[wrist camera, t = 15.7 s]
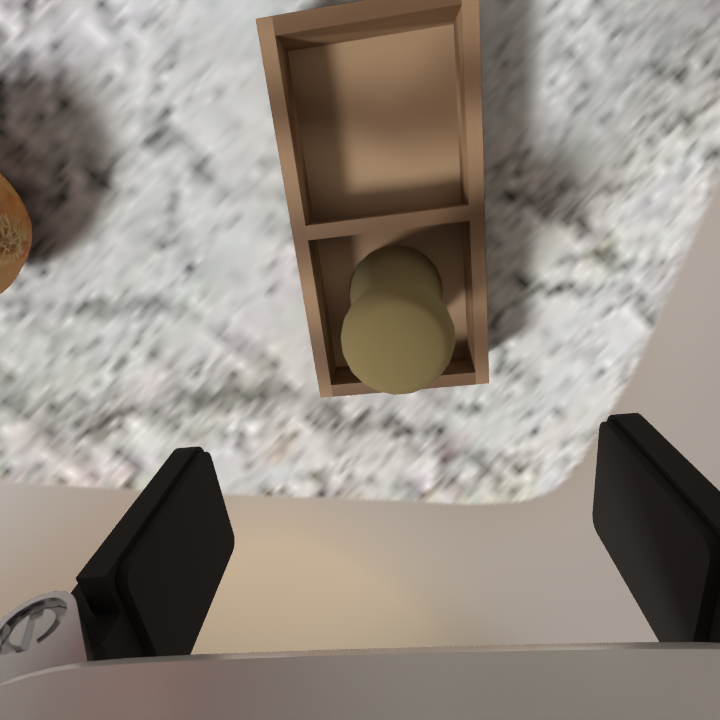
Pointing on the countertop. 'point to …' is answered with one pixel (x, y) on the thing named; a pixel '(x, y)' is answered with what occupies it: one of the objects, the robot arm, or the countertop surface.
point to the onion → (12, 234)
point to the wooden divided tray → (382, 160)
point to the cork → (397, 322)
